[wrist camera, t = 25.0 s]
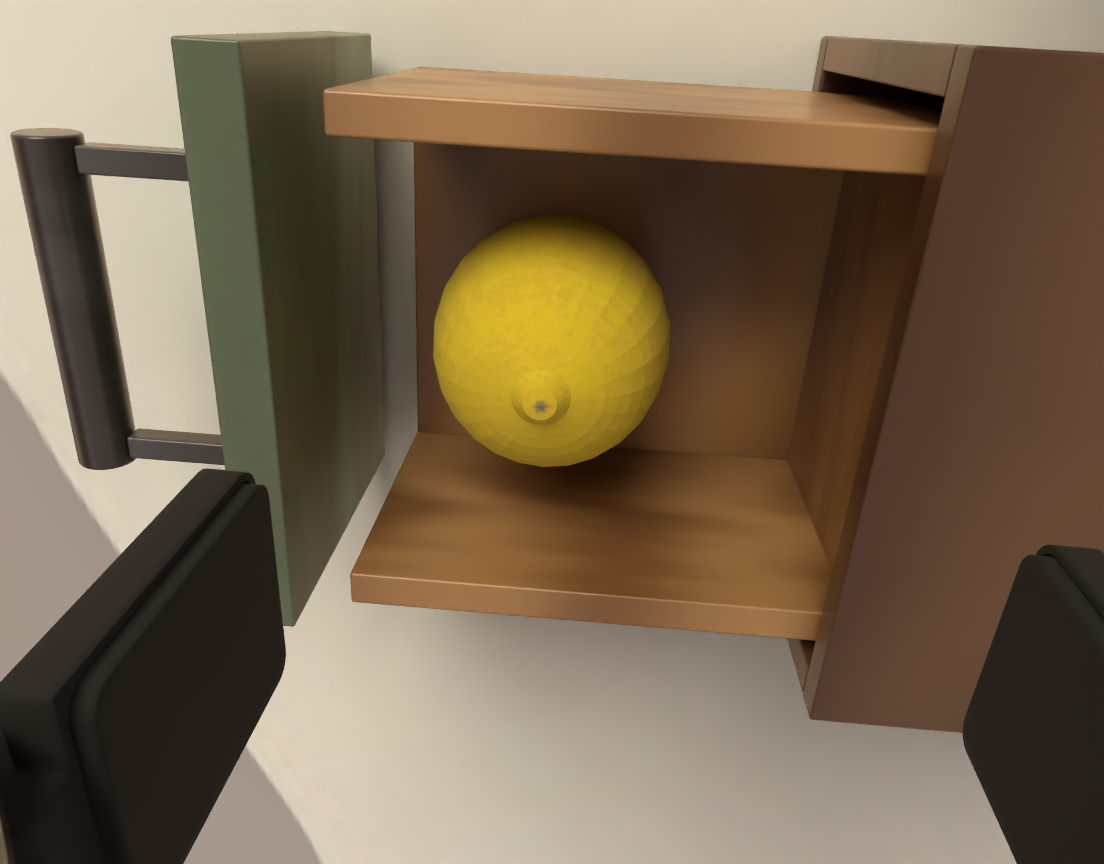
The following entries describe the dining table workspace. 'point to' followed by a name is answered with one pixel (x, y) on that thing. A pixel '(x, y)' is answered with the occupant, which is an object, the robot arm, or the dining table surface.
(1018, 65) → the cabinet
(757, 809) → the dining table surface
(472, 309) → the lemon
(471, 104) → the drawer
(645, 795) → the dining table surface
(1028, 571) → the robot arm
